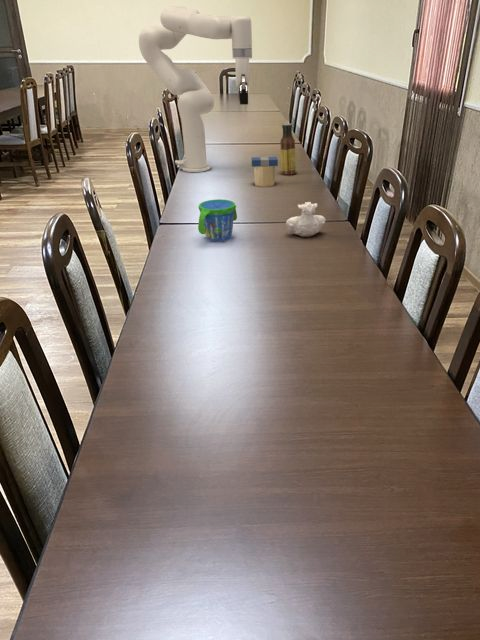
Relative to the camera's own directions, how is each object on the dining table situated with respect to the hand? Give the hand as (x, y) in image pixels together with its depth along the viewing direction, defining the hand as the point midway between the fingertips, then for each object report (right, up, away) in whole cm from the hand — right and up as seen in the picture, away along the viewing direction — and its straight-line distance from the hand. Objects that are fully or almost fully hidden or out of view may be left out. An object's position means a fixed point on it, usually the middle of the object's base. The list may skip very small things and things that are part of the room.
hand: (243, 102), depth 214 cm
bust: (+20, -65, -54) cm, 86 cm away
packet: (+8, -26, -3) cm, 27 cm away
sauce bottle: (+18, -23, +16) cm, 34 cm away
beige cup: (+8, -32, +1) cm, 33 cm away
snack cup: (-5, -66, -55) cm, 86 cm away
